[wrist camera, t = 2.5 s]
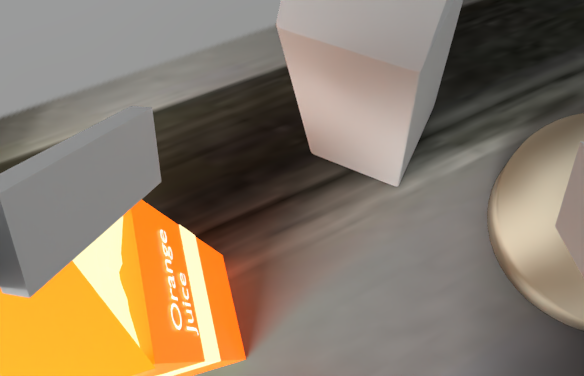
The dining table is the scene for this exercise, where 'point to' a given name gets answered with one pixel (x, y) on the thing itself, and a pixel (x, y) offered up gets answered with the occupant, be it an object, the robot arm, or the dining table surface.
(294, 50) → the milk carton
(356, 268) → the dining table surface
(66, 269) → the orange juice
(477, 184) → the dining table surface
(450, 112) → the dining table surface
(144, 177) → the robot arm
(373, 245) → the dining table surface
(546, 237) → the birch stand
